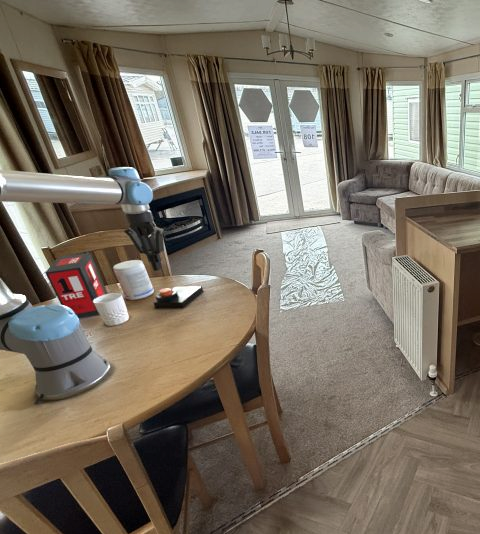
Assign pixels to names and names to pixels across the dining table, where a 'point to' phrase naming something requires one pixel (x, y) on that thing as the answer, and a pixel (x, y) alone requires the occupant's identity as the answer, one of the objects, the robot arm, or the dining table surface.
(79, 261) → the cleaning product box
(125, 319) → the white cup
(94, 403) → the dining table surface
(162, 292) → the oven button
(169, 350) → the dining table surface
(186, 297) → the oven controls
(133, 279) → the supplement tub
